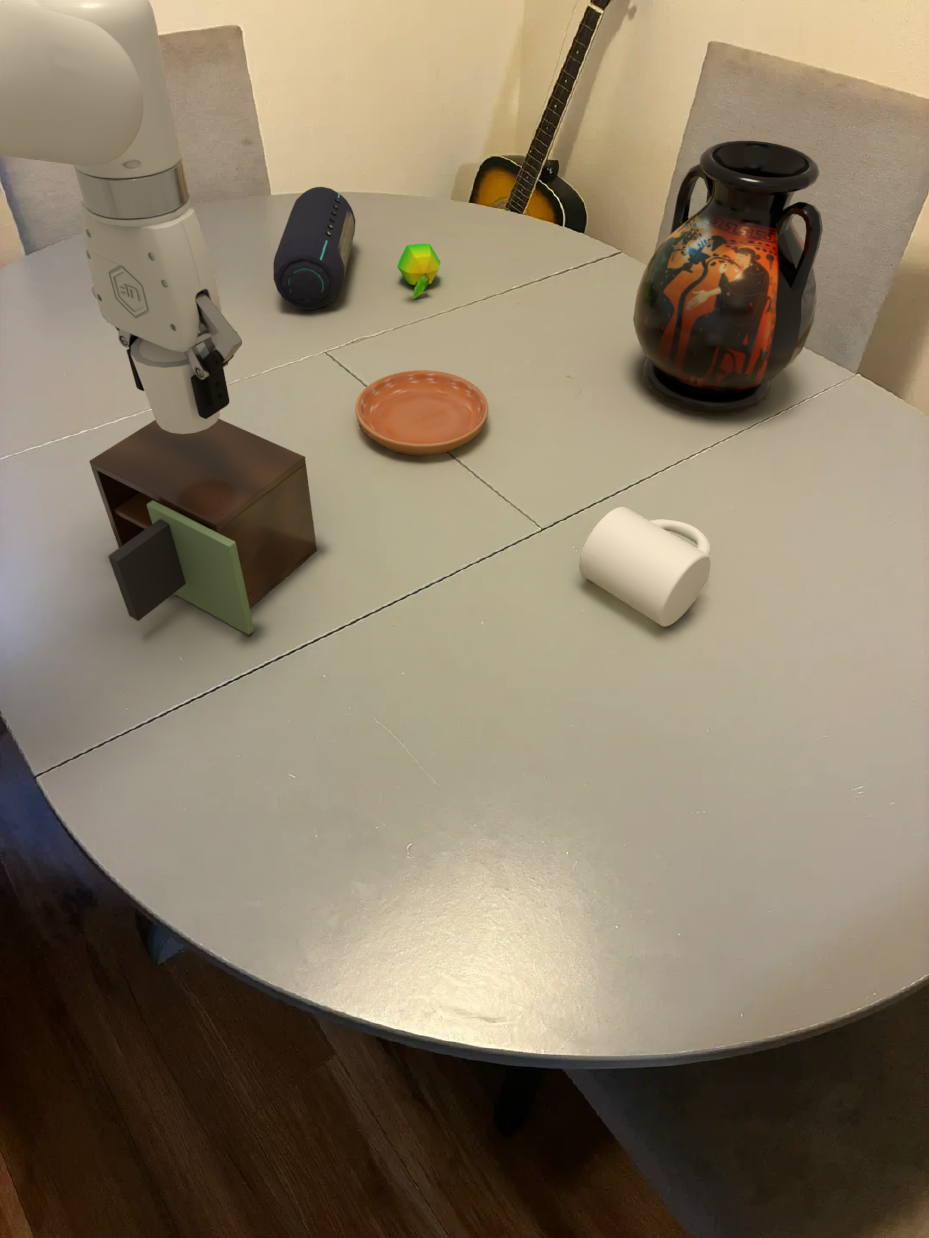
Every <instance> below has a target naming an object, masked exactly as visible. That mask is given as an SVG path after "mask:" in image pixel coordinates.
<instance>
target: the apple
mask: <svg viewBox="0 0 929 1238" xmlns="http://www.w3.org/2000/svg"><path fill="white" fill-rule="evenodd" d="M440 266H441V260H440V259H439V257H438V255H437V253H436V251H435V250H434V249H433V247H432V245H431V243H416V244H407V245H406V246H405V248H404V250H403V252H402V254H401V256H400V258H399V261H398V263H397V266H396V268H397V269H398V270H399V272H400V274H401V275H402V277H403V278H404V280H405V282H406V283H407V285H410V286H414V288H413V296H412V299H413V301H414V300H415V299H416V298H417V297H419V296H420V295H421V294H422V293H424V292H425V291H426V290H427V288H428V286H429V285H431V284H432V282H433V281H434V279H435V277H436V275H437V273H438V271H439V270H440Z"/></svg>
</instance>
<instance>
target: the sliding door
mask: <svg viewBox="0 0 929 1238" xmlns="http://www.w3.org/2000/svg"><path fill="white" fill-rule="evenodd" d="M147 508H148V511H149V514H150V518H151V521H152V525H151V526H149V527H148V528H147V529H145V530H144V531H142V532H141V533H140V534H138V535H137V536H135V537H134V538H133V539H131V540H130V541H128V542H127V543H126V544H124V545H123V546H121V547H120V548H119V547H118V548H117V549H116V550H114V551H113V552H112V553H110V554H108V555H107V558H108V560H109V563H110V566H111V568H112V572H113V574H114V578H115V580H116V582H117V585H118V588H119V591H120V593H121V597H122V599H123V602H124V605H125V607H126V611H127V613H128V617H130V618H132V619H133V620H135V621H137V622H140V621H141V620H142V619H144V618H145V617H146V616H147V615H149V614H150V613H151V612H152V611H153V610H155V609H156V608H157V607H159V606H160V605H161V604H162V603H164V602H165V601H166V600H167V599H169V598H170V597H171V596H172V595H176V596H177V597H179V598H181V599H182V600H185V601H187V602H188V603H190V604H192V605H194V606H196V607H198V609H201V610H203V611H205V612H206V613H209V614H210V615H212V616H214V617H216V618H217V619H219V620H221V621H223V622H224V623H226V624H229V625H230V626H232V627H234V628H236V629H238V630H239V631H241V632H243V633H245V634H246V635H249V636H250V635H251V634H252V633H253V632H254V631H255V627H254V626H255V625H254V622H253V618H252V612H251V608H249V603H248V598H247V594H246V589H245V584H244V580H243V575H242V570H241V566H240V561H239V556H238V551H237V547H236V542H235V541H233V540H231V539H229V538H227V537H225V536H223V535H221V534H219V533H217V532H215V531H213V530H211V529H209V528H207V527H205V526H203V525H201V524H199V523H197V522H195V521H193V520H191V519H189V518H187V517H185V516H183V515H181V514H179V513H177V512H175V511H173V510H171V509H169V508H167V507H165V506H163V505H161V504H159V503H157V502H155V501H153V500H152V501H151V502H149V503H148V504H147Z"/></svg>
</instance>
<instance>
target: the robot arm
mask: <svg viewBox="0 0 929 1238" xmlns="http://www.w3.org/2000/svg"><path fill="white" fill-rule="evenodd" d="M165 68H166V67H165V63H164V57H163V52H162V46H161V42H160V36H159V32H158V26H157V21H156V16H155V13H154V9H153V7H152V5H151V3H150V0H0V156H4V157H9V158H10V157H11V158H18V159H26V160H34V161H40V162H41V161H42V162H50V163H57V164H66V165H73V166H74V172H75V175H76V178H77V183H78V186H79V189H80V193H81V196H82V200H81V202H80V219H81V228H82V236H83V243H84V248H85V255H86V259H87V264H88V268H89V273H90V277H91V282H92V287H91V292H92V295H93V296H94V298H95V299H96V302H97V305H98V308H99V311H100V314H101V316H102V317H103V319H104V320H105V321H106V322H107V323H108V324H110V325H111V326H113V327H114V328H115V329H116V330H117V332H118V336H117V337H118V341H119V343H120V345H121V346H123V347H124V348H127V349H126V354H127V358H128V361H129V364H130V369H131V372H132V376H133V380H134V384H135V387H136V389H137V390H140V391H141V392H145V391H144V388H143V385H142V383H141V380H140V377H139V375H138V372H137V370H136V367H135V364H134V362H133V359H132V356H131V346H132V344H133V343H134V342H135V341H136V339H137V338H139V337H140V338H142V339H145V340H147V341H150V342H152V343H154V344H157V345H159V346H162V347H164V348H167V349H169V350H172V351H175V352H184V354H185V356H186V357H187V359H188V361H189V363H190V365H191V367H192V369H193V371H194V372H195V375H193V376H192V377H191V383H192V387H193V392H194V396H195V401H196V405H197V410H198V414H199V416H200V417H202V418H204V419H207V418H209V417H210V416H212V415H214V414H215V413H217V412H218V411H220V412H221V411H222V410H223V409H224V408H226V407H227V406H228V405H229V404H230V396H229V390H228V384H227V381H226V380H227V379H226V375H225V374H226V373H225V370H224V368H225V367H226V366H228V364H229V362H230V361H231V360H232V359H233V358H234V356H235V355H236V353H237V352H238V350H239V349H240V348H241V346H242V345H243V339H242V338H241V336H240V335H239V333H238V332H237V331H236V330H235V328H234V327H233V326H232V324H231V323H229V321H228V320H227V319H226V317H225V316H224V315H223V312H222V305H221V304H222V303H221V299H220V295H219V289H218V285H217V281H216V277H215V272H214V268H213V265H212V261H211V258H210V253H209V250H208V247H207V243H206V240H205V237H204V235H203V232H202V229H201V228H202V227H201V226H200V222H199V220H198V217H197V215H196V212H195V210H194V208H192V207H191V197H190V193H189V188H188V182H187V179H186V173H185V169H184V167H185V166H184V163H183V158H182V151H181V145H180V140H179V135H178V130H177V126H176V121H175V115H174V111H173V110H174V109H173V104H172V100H171V94H170V88H169V85H168V79H167V74H166V69H165ZM198 329H199V331H200V333H198ZM202 342H204V344H205V346H206V348H207V350H208V351H209V354H208V355H207V356H206V357H205V358H204V359H202V357H201V355H200V353H199V351H198V349H197V347H196V346H197V345H199V344H200V343H202Z"/></svg>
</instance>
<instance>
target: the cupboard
mask: <svg viewBox="0 0 929 1238" xmlns="http://www.w3.org/2000/svg"><path fill="white" fill-rule="evenodd" d="M89 466H90V467H91V471H92V473H93V477H94V480H95V483H96V486H97V489H98V492H99V494H100V498H101V501H102V504H103V506H104V510H105V512H106V515H107V518H108V521H109V524H110V527H111V530H112V532H113V535H114V539H115V541H116V544H117V547H118V549H119V548H120V547H121V546H123V545H124V544H126V543H127V542H128V541H130V540H131V539H133V538H134V537H135V536H137V535H138V534H140V533H141V532H142V531H144V530H145V529H147V528H148V527H149V526H151V525H152V521H151V518H150V514H149V511H148V508H147V504H148V503H149V502H151V501H152V500H153V501H155V502H157V503H159V504H161V505H163V506H165V507H167V508H169V509H171V510H173V511H175V512H177V513H179V514H181V515H183V516H185V517H187V518H189V519H191V520H193V521H195V522H197V523H199V524H201V525H203V526H205V527H207V528H209V529H211V530H213V531H215V532H217V533H219V534H221V535H223V536H225V537H227V538H229V539H231V540H233V541H235V542H236V547H237V551H238V556H239V561H240V566H241V570H242V575H243V580H244V584H245V589H246V594H247V598H248V603H249V608H250V609H251V608H253V607H254V606H255V605H257V603H259V602H260V601H261V600H262V599H263V598H264V597H265V596H266V595H268V594H269V593H270V592H271V591H272V590H274V589H275V588H276V587H277V586H278V585H280V584H281V582H283V581H284V580H285V579H287V577H288V576H290V575H291V574H293V572H294V571H295V570H297V569H298V568H299V567H300V566H301V565H302V564H304V563H305V562H306V561H307V560H309V558H311V557H312V556H313V555H314V554H315V553H317V551H318V547H317V540H316V532H315V524H314V516H313V509H312V501H311V493H310V485H309V484H310V483H309V477H308V469H307V461H306V457H305V456H304V455H302V454H300V453H297V452H295V451H293V450H291V449H289V448H286V447H284V446H282V445H279V444H277V443H275V442H273V441H270V440H268V439H267V438H264V437H261V436H259V435H257V434H255V433H252V432H251V431H248V430H246V429H244V428H241V427H239V426H236V425H234V424H232V423H230V422H227V421H225V420H224V419H221V418H220V417H219V418H218V420H217V422H216V423H215V424H213V425H212V426H210V427H209V428H208V429H205V430H202V431H199V432H196V433H188V434H178V433H170V432H168V431H166V430H164V429H162V428H161V427H160V426H159V425H158V424H157V422H156V419H154V420H152V421H151V422H149V423H147V424H146V425H144V426H143V427H141V428H139V429H138V430H136V431H134V432H133V433H131V434H130V435H127V437H125V438H123V439H122V440H120V441H118V442H117V443H116V444H114V445H112V446H110V447H108V448H107V449H106V450H104V451H103V452H101V453H100V454H98V455H96V456H95V457H92V458H91V459H90V460H89Z"/></svg>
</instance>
